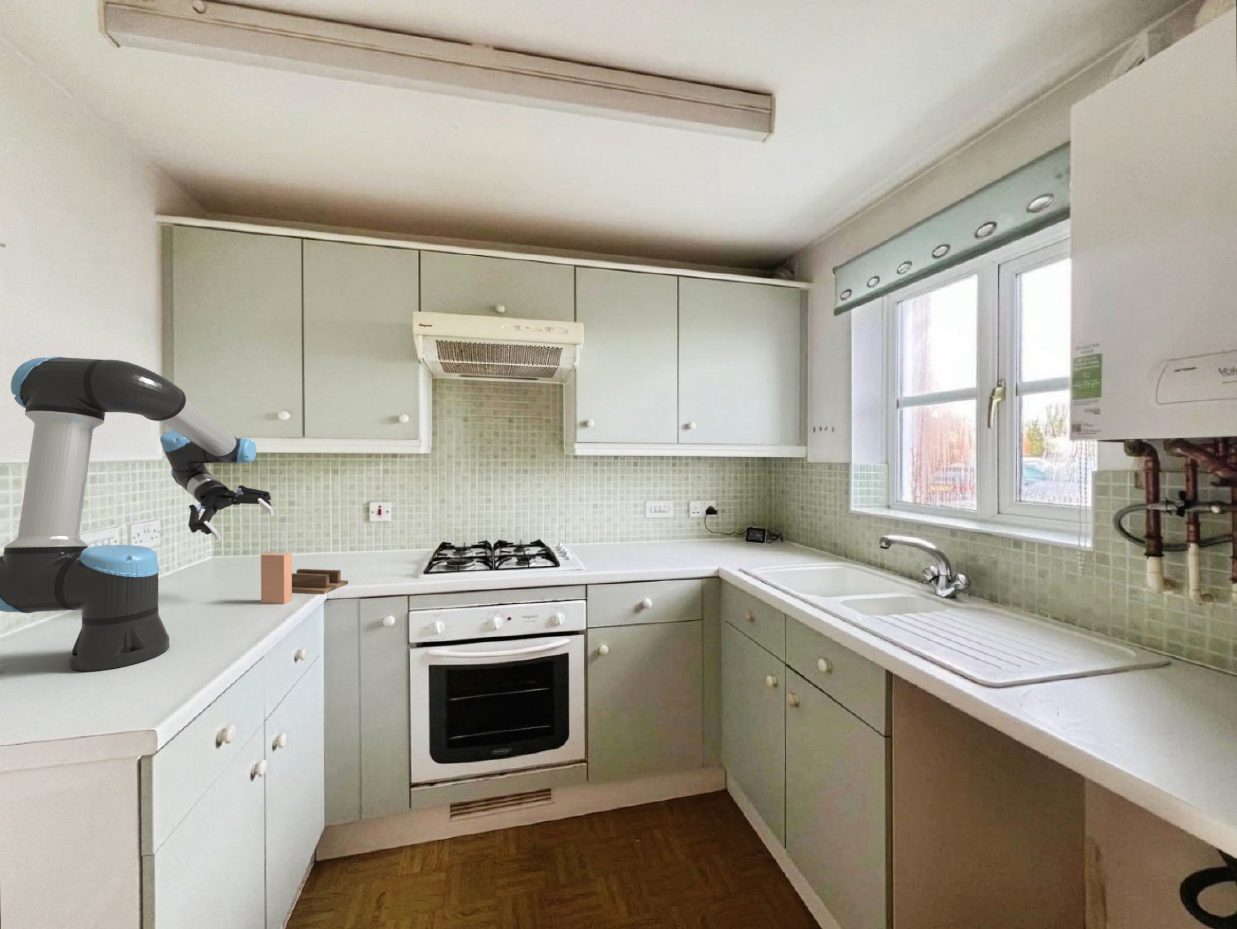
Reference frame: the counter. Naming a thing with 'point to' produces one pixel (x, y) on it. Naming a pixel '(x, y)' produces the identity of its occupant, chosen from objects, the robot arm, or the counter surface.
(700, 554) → the counter surface
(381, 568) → the counter surface
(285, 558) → the salmon orange block
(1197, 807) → the counter surface
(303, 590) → the slot rack
